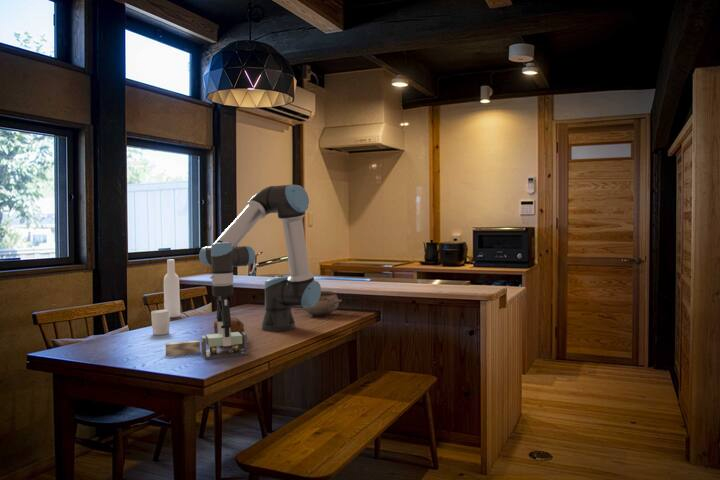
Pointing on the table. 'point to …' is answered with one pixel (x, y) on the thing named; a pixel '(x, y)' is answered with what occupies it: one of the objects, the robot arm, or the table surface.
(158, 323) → the white cup
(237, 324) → the bread
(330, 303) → the cooking pot
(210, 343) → the board
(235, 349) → the chassis
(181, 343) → the stand
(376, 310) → the table surface
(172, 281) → the bottle
